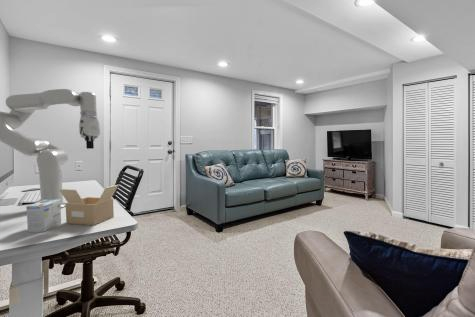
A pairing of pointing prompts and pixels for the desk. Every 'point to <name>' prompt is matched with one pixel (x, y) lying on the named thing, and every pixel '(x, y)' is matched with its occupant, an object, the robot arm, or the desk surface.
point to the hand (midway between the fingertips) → (90, 148)
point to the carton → (89, 211)
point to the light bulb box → (43, 215)
